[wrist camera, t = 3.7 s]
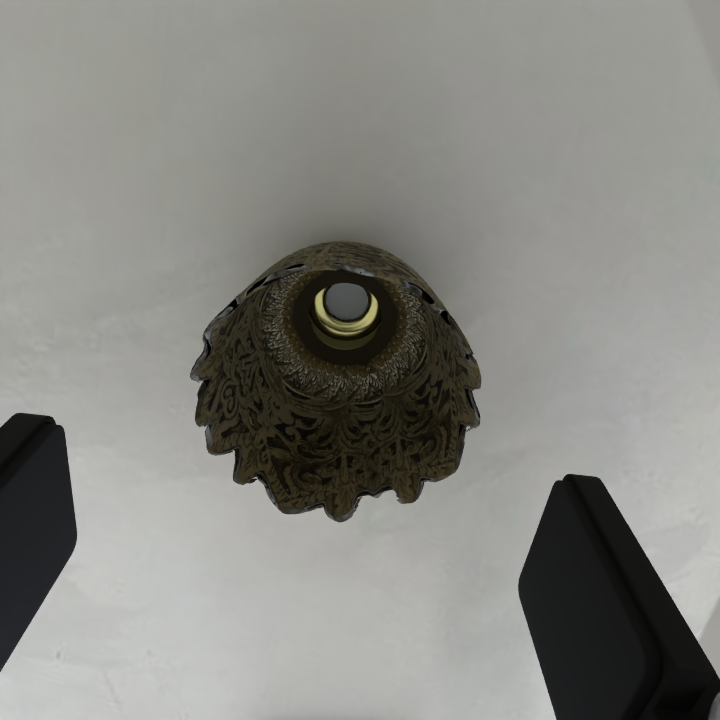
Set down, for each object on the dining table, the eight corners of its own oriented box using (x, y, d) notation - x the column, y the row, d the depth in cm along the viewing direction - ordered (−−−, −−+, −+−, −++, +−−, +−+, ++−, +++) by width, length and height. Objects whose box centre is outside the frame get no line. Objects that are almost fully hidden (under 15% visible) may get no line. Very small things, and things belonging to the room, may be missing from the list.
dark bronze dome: (418, 174, 19) (447, 228, 12) (463, 358, 22) (507, 488, 15) (219, 235, 20) (136, 318, 13) (288, 403, 23) (252, 545, 16)
